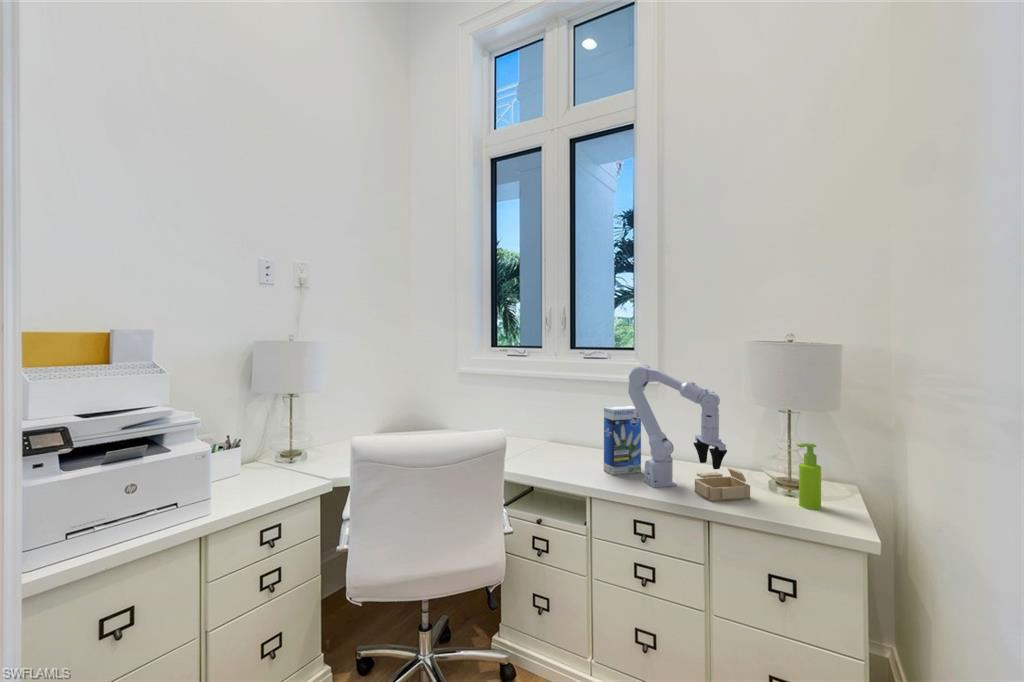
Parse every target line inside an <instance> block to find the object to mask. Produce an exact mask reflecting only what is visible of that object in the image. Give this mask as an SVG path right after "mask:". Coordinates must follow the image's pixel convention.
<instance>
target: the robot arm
mask: <svg viewBox="0 0 1024 682" xmlns="http://www.w3.org/2000/svg"><path fill="white" fill-rule="evenodd" d="M628 380H629V381H628V389H627V390H628V391H627V392H628V395H629V397H630V400H631V402H632V404H633V406H634V407H635V408H636V410H637V413H638V415H639V417H640V419H641V424H642V426H643V427H644V430H645V432H646V434H647V437H648V444H649V447H650V454H651V459H649V460H646V461H645V462H644V479H643V481H644V482H645V483H646V484H648V485H649V486H651V487H652V486H653V488H663V487H664V488H665V487H675V486H676V487H677V486H678V483H676V482H675V481H673V475H674V473H673V472H674V471H673V467H674V466H673V463H674V462H673V461H674V460H673V457H672V454H673V452H674V450H675V449H674V444H673V443H672V441H671V440H669V439H668V437H667V435H666V434H665V433H664V432H663V431H662V429H661V427H660V425H659V423H658V421H657V419H656V416H655V414H654V412H653V410H652V408H651V406H650V403H649V401H648V399H647V396H646V395H645V393H644V391H645V390H646V387H647V385H648V383H655V382H659V383H660V384H663V385H664V386H667V387H670V388H672V389H674V390H676V391H678V392H679V394H680V396H681V397H683V398H685V399H687V400H689V401H691V402H693V403H694V404H697V405H700V407H701V415H700V417H701V418H700V421H701V423H700V434H696V435H694V440H695V442H693V446H694V448H695V450H696V452H697V456H698V460H699V464H706V463H707V461H708V460H707V459H708V453H709V452H710V456H711V461H712V469H713V470H720V469H721V466H722V462H723V459H724V457H725V456H726V454H727V453H728V449H727V447H726V446H727V445H726V444H725V443H723V441H722V439H721V438H719V437H720V435H719V434H720V414H719V413H720V410H719V405H720V403H721V398H720V396H719V395H718V394H717V393H716V392H715V391H709V389H708V388H703V387H701V386H698V385H696V384H697V383H696V382H694V381H691V382H690V381H686V382H682V381H680V380H678V379H677V378H674V377H673V376H670V375H669V374H667V373H665V372H663V371H661V370H659V369H658V368H655V367H651V366H650V365H646V364H643V365H641V366H635V367H634V368H632V369H631V372H630V373H629V375H628ZM710 447H711V448H710ZM712 447H713V448H712Z"/></svg>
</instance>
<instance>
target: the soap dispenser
mask: <svg viewBox="0 0 1024 682" xmlns="http://www.w3.org/2000/svg"><path fill="white" fill-rule="evenodd" d="M796 447H799V448H805V447H806V452H805V453H803V462H802V463H799V464H798V465H799V466H798V467H799V468H798V469H799V470H798V471H799V473H798V478H799V479H798V486H799V487H798V505H799V506H800V507H801V508H803V509H807V510H812V511H814V510H815V511H818V510H821V509H822V466H820V465H819V464H817V458H818V457H817V455H816V454H815V453H814V448H817V445H816V444H814V443H810V442H809V443H808V442H805V443H803V442H802V443H797V444H796Z"/></svg>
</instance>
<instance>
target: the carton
mask: <svg viewBox="0 0 1024 682" xmlns="http://www.w3.org/2000/svg"><path fill="white" fill-rule="evenodd" d="M694 493H696V494H698V495H699V494H700V495H699V496H701V497H702V498H705V499H706V500H709V502H711V503H719V502H728V501H730V502H731V501H742V500H743V501H744V500H750V499H751V485H749V484H748V483H747V482H743V481H741V480H738V479H736V478H734V477H732V476H731V475H730V476H723V477H712V478H694Z"/></svg>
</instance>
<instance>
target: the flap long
mask: <svg viewBox="0 0 1024 682" xmlns="http://www.w3.org/2000/svg"><path fill="white" fill-rule="evenodd" d="M696 477H699V478H700V479H702V478H716V477H724V476H723V474H722V473H720V472H717V471H713V472H698V473H697V472H696Z"/></svg>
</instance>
